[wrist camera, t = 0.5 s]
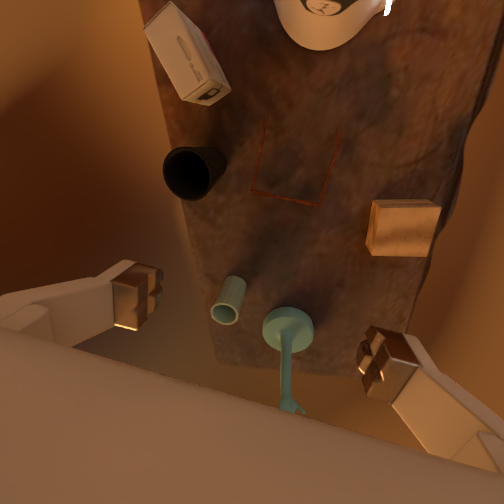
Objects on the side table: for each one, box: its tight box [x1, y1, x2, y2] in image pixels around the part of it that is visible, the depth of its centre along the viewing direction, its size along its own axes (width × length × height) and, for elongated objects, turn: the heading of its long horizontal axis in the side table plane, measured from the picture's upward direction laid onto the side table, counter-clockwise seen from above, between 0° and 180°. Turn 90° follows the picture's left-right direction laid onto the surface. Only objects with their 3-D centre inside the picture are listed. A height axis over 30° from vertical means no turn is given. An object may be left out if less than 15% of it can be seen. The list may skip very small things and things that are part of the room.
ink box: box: [143, 1, 231, 106], centre depth 34 cm, size 9×5×12 cm, turn 28°
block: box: [365, 199, 442, 257], centre depth 43 cm, size 9×9×5 cm
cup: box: [163, 147, 226, 201], centre depth 40 cm, size 8×8×12 cm
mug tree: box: [263, 307, 314, 414], centre depth 50 cm, size 12×12×25 cm
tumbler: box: [210, 276, 247, 325], centre depth 54 cm, size 6×6×10 cm
